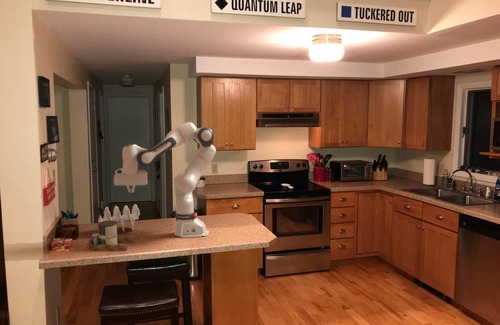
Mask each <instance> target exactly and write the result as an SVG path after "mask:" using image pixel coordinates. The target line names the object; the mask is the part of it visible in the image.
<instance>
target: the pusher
mask: <svg viewBox="0 0 500 325" xmlns="http://www.w3.org/2000/svg"><path fill="white" fill-rule="evenodd" d="M93 237H95V238H94V239H93V243H94V245H99V232H98V233H93V234H92V235H91V238H93Z"/></svg>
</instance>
